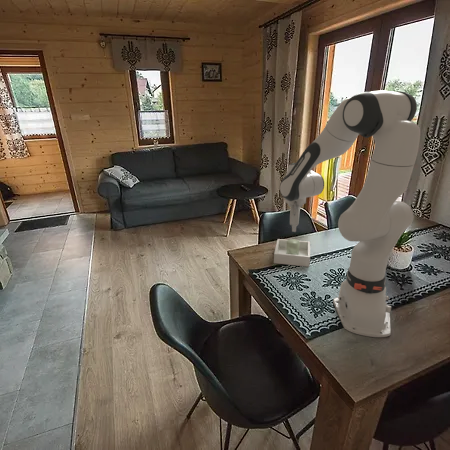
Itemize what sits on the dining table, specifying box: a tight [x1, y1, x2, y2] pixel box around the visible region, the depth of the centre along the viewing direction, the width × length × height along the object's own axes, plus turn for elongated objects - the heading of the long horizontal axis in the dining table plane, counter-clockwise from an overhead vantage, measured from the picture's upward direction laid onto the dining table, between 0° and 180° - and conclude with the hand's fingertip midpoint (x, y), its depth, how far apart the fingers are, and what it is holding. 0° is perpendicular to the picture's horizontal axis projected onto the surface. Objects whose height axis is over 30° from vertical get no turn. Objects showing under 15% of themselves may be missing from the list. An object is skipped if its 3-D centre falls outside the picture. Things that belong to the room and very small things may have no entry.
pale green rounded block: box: [286, 238, 300, 255], centre depth 138 cm, size 6×6×7 cm
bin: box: [273, 238, 311, 268], centre depth 138 cm, size 16×16×5 cm
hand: (294, 227), depth 133 cm, fingers open, 8 cm apart
